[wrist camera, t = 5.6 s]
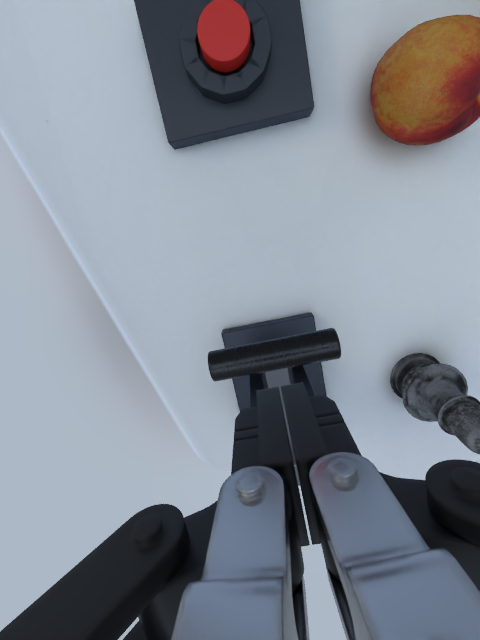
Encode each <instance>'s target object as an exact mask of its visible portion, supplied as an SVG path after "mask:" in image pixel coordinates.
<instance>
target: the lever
mask: <svg viewBox="0 0 480 640" xmlns="http://www.w3.org/2000/svg"><path fill="white" fill-rule="evenodd" d="M340 357H341V347H340V342H339V338H338V335H337V333H336V331H335V329H334V328H329V329H324V330H319V331H314V332H308V333H303V334H298V335H293V336H288V337H282V338H277V339H272V340H267V341H262V342H256V343H251V344H246V345H241V346H236V347H230V348H225V349H220V350H215V351H210V352H209V353H208V365H209V371H210V374H211V377H212V379H213V381H220V380H225V379H231V378H236V377H241V376H247V375H252V374H258V373H263V372H265V375H266V380H267V384H268V388H273V387H279V391H280V396H281V401H282V406H283V411H284V416H285V421H286V426H287V431H288V436H289V441H290V446H291V451H292V457H293V462H294V467H295V472H296V477H297V483H298V485H300V481H299V476H298V471H297V466H296V461H295V456H294V451H293V446H292V441H291V436H290V431H289V426H288V421H287V416H286V411H285V406H284V401H283V396H282V391H281V386H284V385H290V379H289V373H288V368H290V367H295V366H301V365H306V364H312V363H317V362H322V361H328V360H333V359H339V358H340Z"/></svg>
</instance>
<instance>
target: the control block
mask: <svg viewBox="0 0 480 640" xmlns="http://www.w3.org/2000/svg"><path fill="white" fill-rule="evenodd" d="M212 1H214V0H134V2H135V6H136V10H137V14H138V19H139V23H140V27H141V31H142V35H143V39H144V43H145V48H146V52H147V56H148V60H149V64H150V68H151V72H152V76H153V81H154V85H155V89H156V93H157V97H158V101H159V105H160V110H161V114H162V118H163V122H164V126H165V130H166V134H167V139H168V142H169V144H170V145H171V146H172V147H173V148H174V149H178V148H182V147H186V146H190V145H194V144H199V143H203V142H207V141H211V140H215V139H219V138H223V137H227V136H231V135H236V134H240V133H244V132H248V131H252V130H256V129H260V128H264V127H268V126H273V125H277V124H281V123H285V122H289V121H293V120H297V119H301V118H306V117H309V116H310V114H311V112H312V110H313V108H314V102H313V94H312V87H311V80H310V73H309V65H308V58H307V51H306V44H305V36H304V29H303V22H302V15H301V7H300V0H233V1H235V2H237V3H238V4H239V5H241V6H242V8H243V9H244V10H245V12H246V14H247V16H248V18H249V22H250V50H249V54H248V57H247V59H246V60H245V62H244V63H243V64H242V66H240V67H239V68H238V69H236V70H234V71H232V72H226V73H224V72H219V71H216V70H214V69H213V68H212V67H210V66H209V65H208V64H207V62H206V61H205V59H204V57H203V54H202V51H201V47H200V43H199V40H198V34H197V26H198V21H199V17H200V15H201V13H202V11H203V10H204V8H205V7H206V6H207V5H208V4H209V3H211V2H212Z"/></svg>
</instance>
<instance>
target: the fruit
mask: <svg viewBox="0 0 480 640" xmlns="http://www.w3.org/2000/svg"><path fill="white" fill-rule="evenodd" d="M370 95H371V105H372V110H373V114H374V117H375V120H376V122H377V124H378V126H379V128H380V129H381V130H382V131H383V132H384V133H385V134H386V135H387V136H388V137H390V138H392V139H394V140H395V141H398V142H400V143H403V144H407V145H428V144H432V143H437V142H440V141H442V140H445V139H447V138H450V137H452V136H454V135H456V134H457V133H459V132H461V131H463V130H464V129H466V128H467V127H468V126H470V125H471V124H472V123H474V122H475V121H476V120H477V119H478V118H479V117H480V18H478V17H475V16H471V15H453V16H447V17H442V18H437V19H433V20H430V21H426V22H424V23H421V24H419V25H417V26H416V27H414V28H413V29H411V30H410V31H408V32H407V33H406V34H405V35H404V36H402V37H401V38H400V39H399V40H398V41H397V42H395V43H394V44H393V45H392V46H391V47H390V48H389V49H388V50H387V52H386V53H385V54H384V56H383V57H382V58H381V60H380V61H379V62H378V64H377V67H376V69H375V71H374V74H373V78H372V83H371V91H370Z"/></svg>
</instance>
